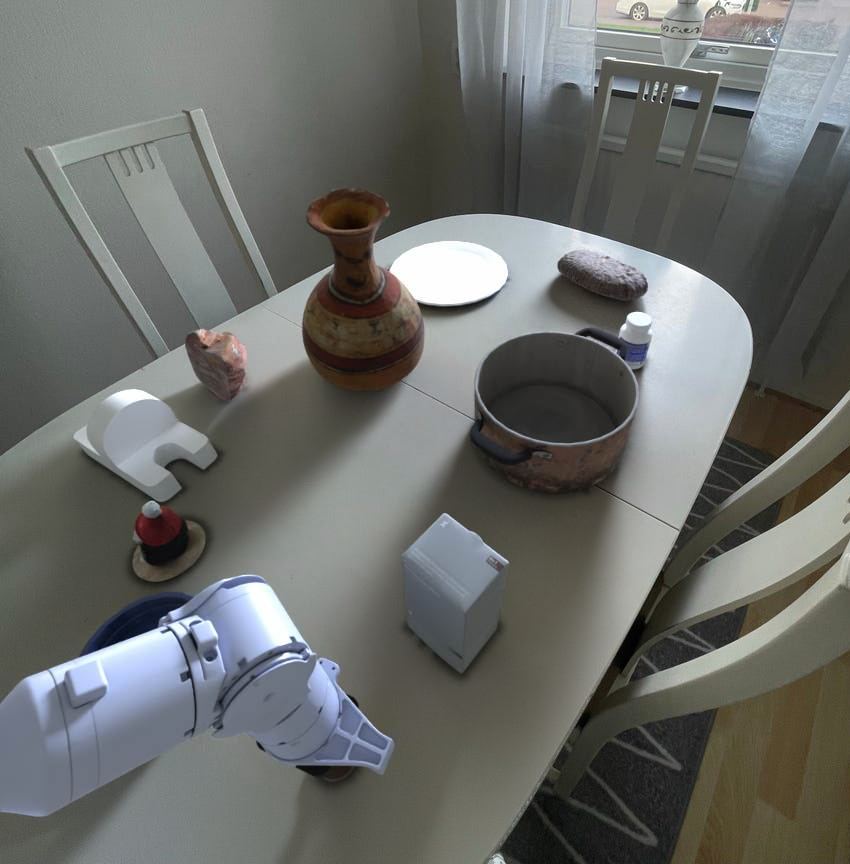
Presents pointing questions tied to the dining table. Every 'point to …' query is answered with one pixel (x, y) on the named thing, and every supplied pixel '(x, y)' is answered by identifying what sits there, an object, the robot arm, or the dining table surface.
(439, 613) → the cosmetic box
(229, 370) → the stone
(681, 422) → the dining table surface
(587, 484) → the saucepan
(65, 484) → the dining table surface
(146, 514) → the figurine
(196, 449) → the tape dispenser
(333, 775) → the brown plunger
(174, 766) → the dining table surface
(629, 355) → the pill bottle
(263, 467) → the dining table surface
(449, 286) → the plate
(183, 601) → the bowl
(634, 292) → the decorative stone
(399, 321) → the ceramic pitcher
